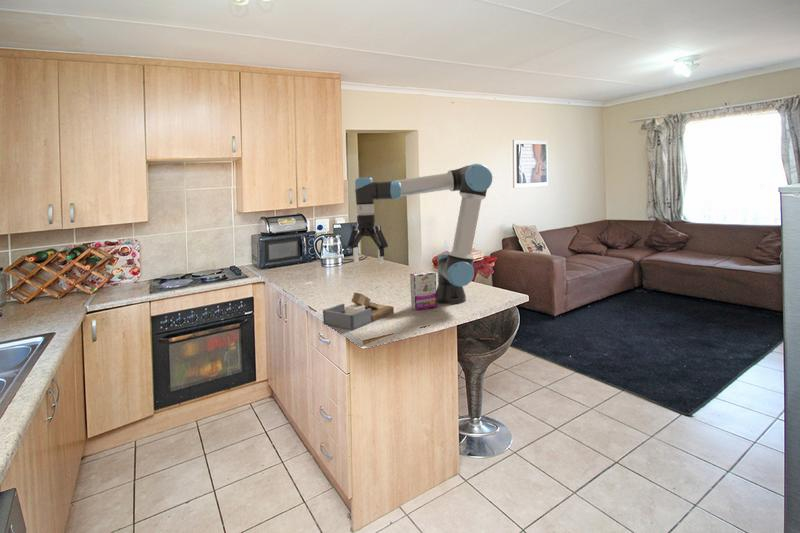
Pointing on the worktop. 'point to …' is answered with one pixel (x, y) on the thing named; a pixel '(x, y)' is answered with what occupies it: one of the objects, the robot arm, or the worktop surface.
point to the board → (381, 312)
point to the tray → (346, 318)
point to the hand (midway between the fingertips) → (368, 263)
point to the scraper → (364, 301)
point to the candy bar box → (423, 290)
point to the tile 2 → (354, 308)
